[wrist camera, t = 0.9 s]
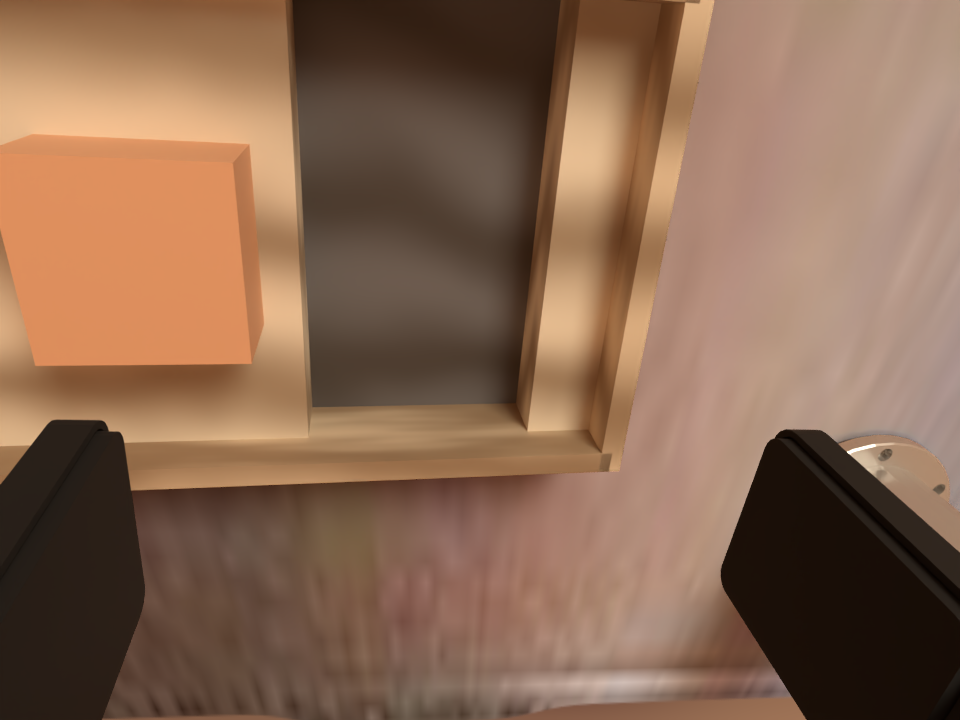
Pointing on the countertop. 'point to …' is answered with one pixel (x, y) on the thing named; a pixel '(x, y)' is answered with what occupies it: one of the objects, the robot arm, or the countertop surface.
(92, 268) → the terracotta block
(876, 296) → the countertop surface
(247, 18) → the trap box
